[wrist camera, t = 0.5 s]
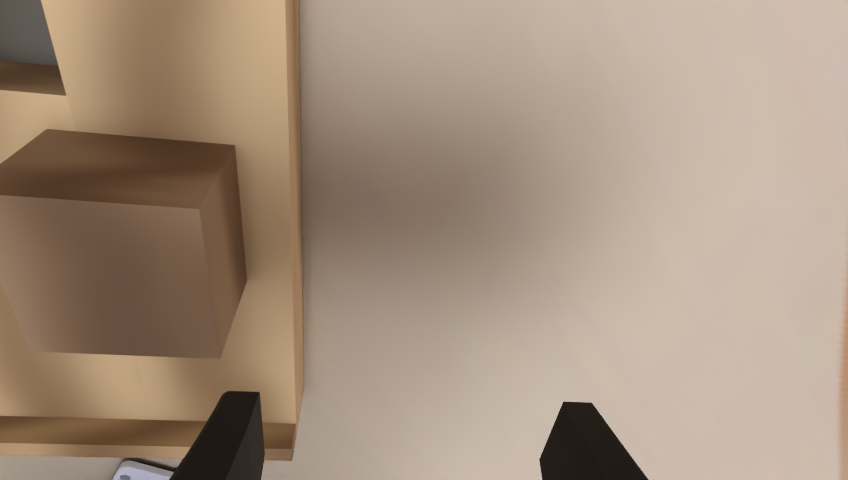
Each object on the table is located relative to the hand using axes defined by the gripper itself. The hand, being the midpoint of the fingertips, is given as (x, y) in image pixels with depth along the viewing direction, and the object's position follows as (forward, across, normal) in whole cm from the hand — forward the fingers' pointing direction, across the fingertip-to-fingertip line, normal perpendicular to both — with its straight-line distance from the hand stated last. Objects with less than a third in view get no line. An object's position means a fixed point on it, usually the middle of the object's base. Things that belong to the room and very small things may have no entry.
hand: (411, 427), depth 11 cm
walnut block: (+7, +8, 0) cm, 11 cm away
